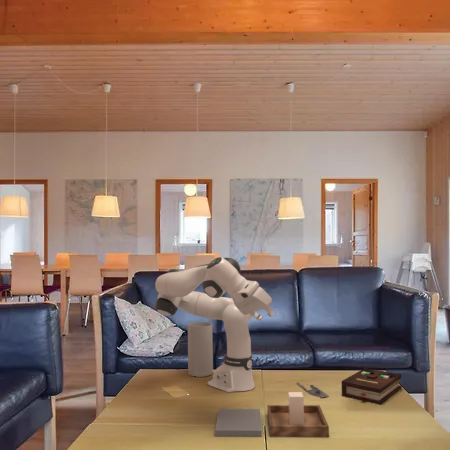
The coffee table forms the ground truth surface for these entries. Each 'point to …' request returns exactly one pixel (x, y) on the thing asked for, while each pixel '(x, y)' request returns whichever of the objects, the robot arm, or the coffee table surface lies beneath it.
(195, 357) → the cylinder vase
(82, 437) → the coffee table surface
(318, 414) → the box
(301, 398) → the tall cream pillar block
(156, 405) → the coffee table surface
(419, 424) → the coffee table surface
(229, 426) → the board
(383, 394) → the decorative book
